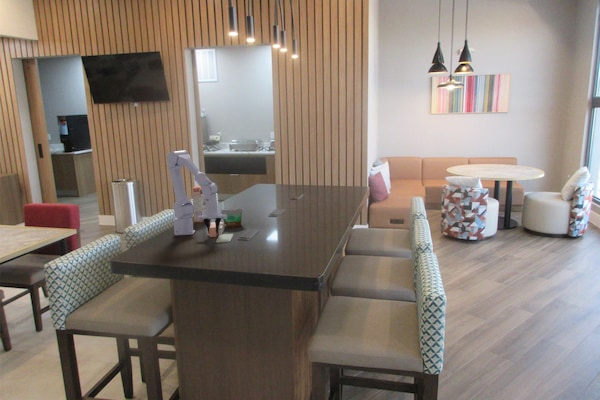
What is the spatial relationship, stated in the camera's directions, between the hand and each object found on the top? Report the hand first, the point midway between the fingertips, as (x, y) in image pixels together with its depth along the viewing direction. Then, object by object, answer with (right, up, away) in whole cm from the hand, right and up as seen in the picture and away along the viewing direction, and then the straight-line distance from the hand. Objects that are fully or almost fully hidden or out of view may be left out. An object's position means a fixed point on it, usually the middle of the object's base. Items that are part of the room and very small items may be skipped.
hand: (213, 232), depth 221 cm
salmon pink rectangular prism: (0, -1, +3) cm, 3 cm away
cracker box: (-14, +5, +39) cm, 42 cm away
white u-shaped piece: (0, 0, +9) cm, 9 cm away
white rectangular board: (+7, -3, -4) cm, 8 cm away
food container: (+7, +2, +19) cm, 21 cm away
